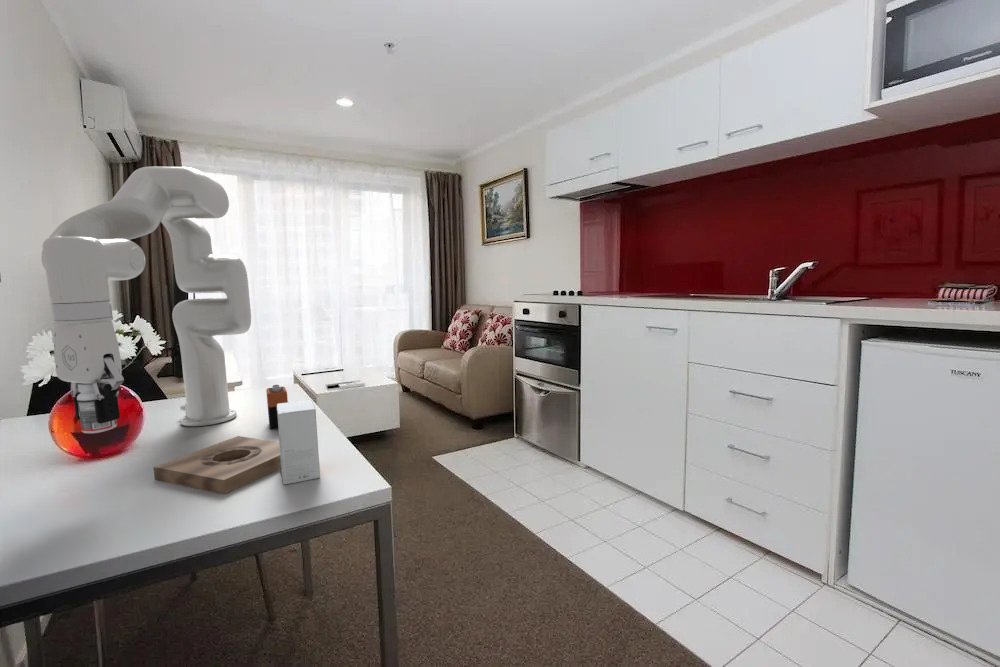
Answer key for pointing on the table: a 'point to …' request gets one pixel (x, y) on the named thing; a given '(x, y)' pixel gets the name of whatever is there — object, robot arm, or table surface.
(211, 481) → the socket block
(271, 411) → the battery
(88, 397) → the pill bottle
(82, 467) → the table surface
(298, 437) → the small box
